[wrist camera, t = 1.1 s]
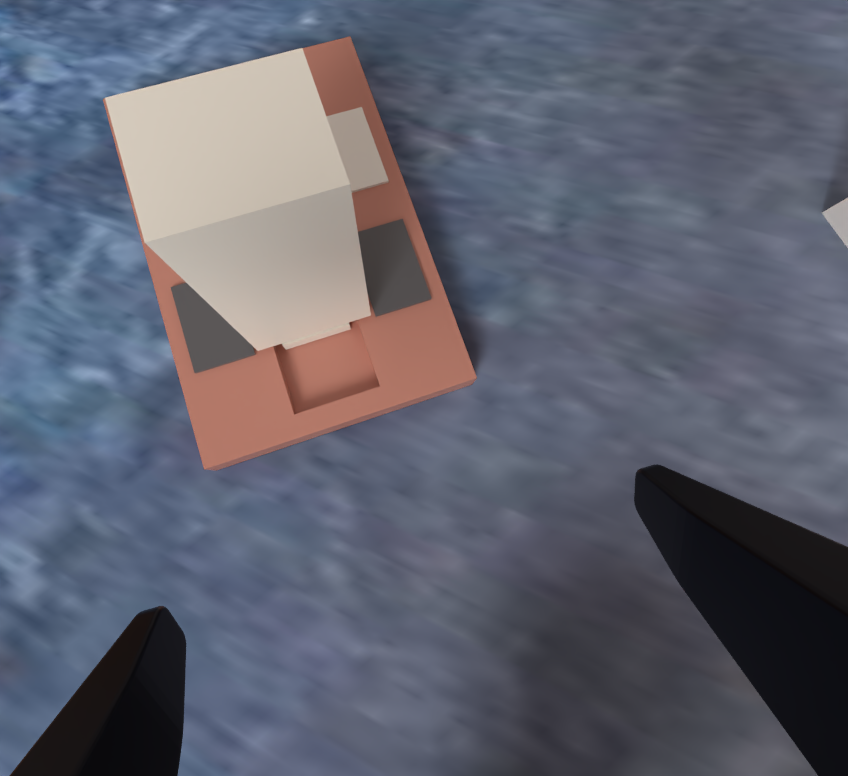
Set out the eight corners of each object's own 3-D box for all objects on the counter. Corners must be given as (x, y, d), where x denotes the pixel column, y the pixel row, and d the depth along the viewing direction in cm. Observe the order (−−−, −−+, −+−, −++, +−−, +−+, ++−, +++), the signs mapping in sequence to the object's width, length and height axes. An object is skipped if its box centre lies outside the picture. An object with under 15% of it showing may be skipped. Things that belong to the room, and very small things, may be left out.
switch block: (472, 384, 24) (477, 377, 22) (216, 470, 23) (202, 469, 21) (352, 60, 27) (350, 33, 25) (119, 121, 26) (100, 96, 24)
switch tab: (372, 322, 23) (350, 184, 13) (263, 356, 23) (144, 242, 12) (345, 244, 24) (302, 47, 13) (239, 275, 24) (105, 97, 13)
